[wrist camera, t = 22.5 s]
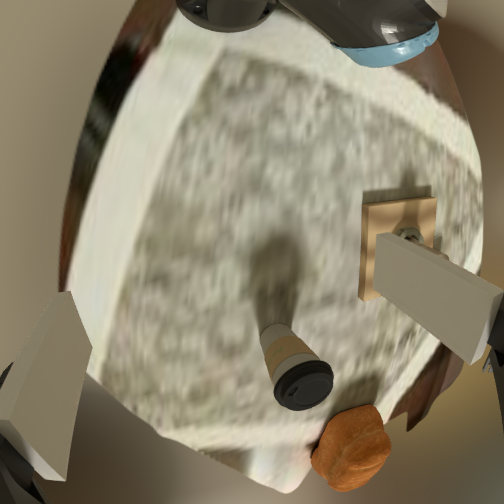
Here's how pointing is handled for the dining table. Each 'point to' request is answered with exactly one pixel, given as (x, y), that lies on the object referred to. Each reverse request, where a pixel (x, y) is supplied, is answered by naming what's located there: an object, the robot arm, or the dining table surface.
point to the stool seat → (393, 231)
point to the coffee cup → (294, 369)
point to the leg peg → (428, 248)
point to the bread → (352, 448)
